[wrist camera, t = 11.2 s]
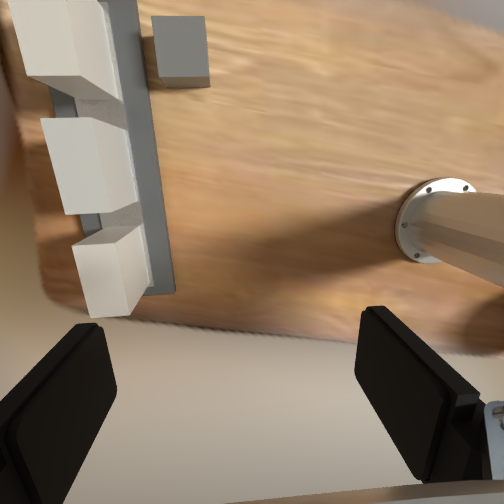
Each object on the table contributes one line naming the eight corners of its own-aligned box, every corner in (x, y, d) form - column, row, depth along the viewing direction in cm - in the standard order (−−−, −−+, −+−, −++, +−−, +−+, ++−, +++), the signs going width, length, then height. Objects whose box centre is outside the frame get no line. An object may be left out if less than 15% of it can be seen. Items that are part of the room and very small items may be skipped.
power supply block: (206, 35, 29) (204, 16, 25) (210, 87, 31) (208, 76, 27) (160, 35, 29) (150, 15, 25) (166, 88, 30) (158, 77, 26)
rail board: (135, -7, 27) (131, -14, 26) (175, 289, 38) (174, 293, 37) (32, -10, 26) (23, -17, 25) (103, 295, 37) (99, 299, 36)
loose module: (124, 129, 29) (90, 117, 22) (137, 201, 32) (110, 212, 24) (86, 130, 29) (38, 118, 22) (101, 203, 32) (63, 214, 24)
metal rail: (108, 4, 26) (107, 2, 26) (154, 285, 36) (153, 286, 36) (55, 3, 26) (53, 0, 25) (116, 287, 36) (115, 289, 35)
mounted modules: (102, 8, 26) (53, -57, 18) (149, 283, 35) (129, 315, 28) (60, 7, 26) (-9, -59, 18) (118, 285, 35) (90, 318, 28)
